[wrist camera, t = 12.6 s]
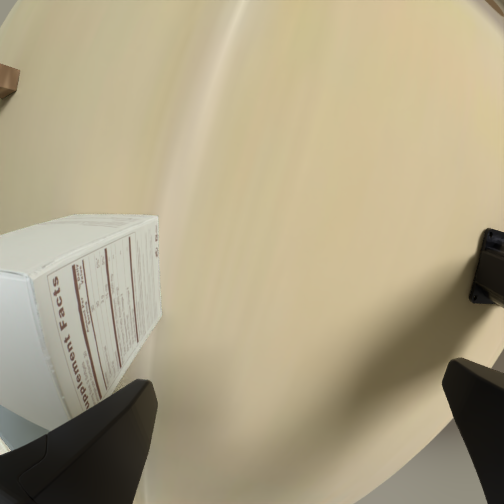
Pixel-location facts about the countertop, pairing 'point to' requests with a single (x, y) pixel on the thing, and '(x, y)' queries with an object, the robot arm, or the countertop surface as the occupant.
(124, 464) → the robot arm
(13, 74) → the door frame
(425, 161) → the countertop surface
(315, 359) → the countertop surface
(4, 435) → the door
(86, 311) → the supplement box
